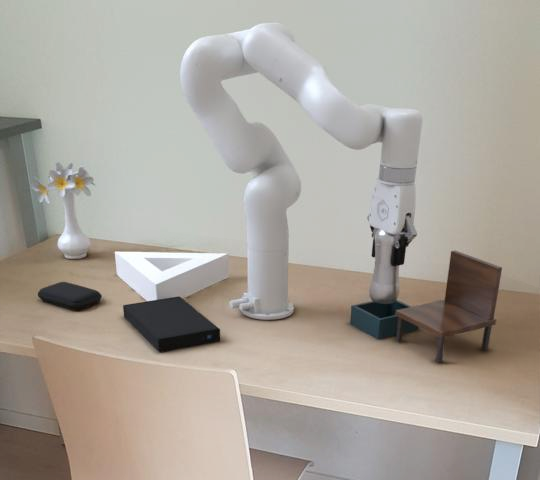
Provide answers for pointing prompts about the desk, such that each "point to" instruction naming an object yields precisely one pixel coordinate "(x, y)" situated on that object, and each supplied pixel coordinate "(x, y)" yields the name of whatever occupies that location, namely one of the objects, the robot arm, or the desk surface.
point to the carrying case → (69, 295)
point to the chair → (458, 303)
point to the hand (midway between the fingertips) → (387, 260)
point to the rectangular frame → (379, 318)
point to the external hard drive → (171, 324)
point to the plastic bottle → (384, 270)
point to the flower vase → (68, 206)
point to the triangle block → (170, 272)
